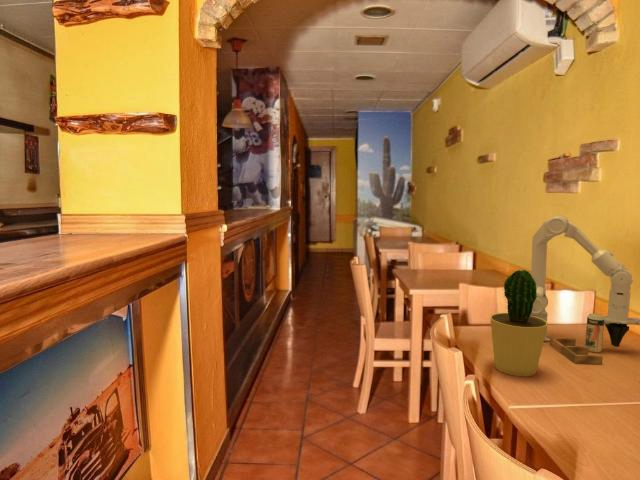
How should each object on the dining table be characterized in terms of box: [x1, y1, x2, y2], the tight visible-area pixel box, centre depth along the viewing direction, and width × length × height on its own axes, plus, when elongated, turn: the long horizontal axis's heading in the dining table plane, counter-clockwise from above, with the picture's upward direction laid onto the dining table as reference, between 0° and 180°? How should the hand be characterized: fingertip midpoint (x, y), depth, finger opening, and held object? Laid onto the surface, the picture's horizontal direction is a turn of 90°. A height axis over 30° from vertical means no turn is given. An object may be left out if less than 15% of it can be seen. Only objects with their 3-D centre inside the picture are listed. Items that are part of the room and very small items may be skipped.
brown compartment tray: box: [549, 337, 604, 365], centre depth 149 cm, size 8×17×2 cm, turn 178°
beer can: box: [584, 313, 605, 353], centre depth 152 cm, size 5×5×12 cm
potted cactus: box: [489, 268, 549, 377], centre depth 134 cm, size 15×15×30 cm
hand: (615, 345), depth 152 cm, fingers closed
